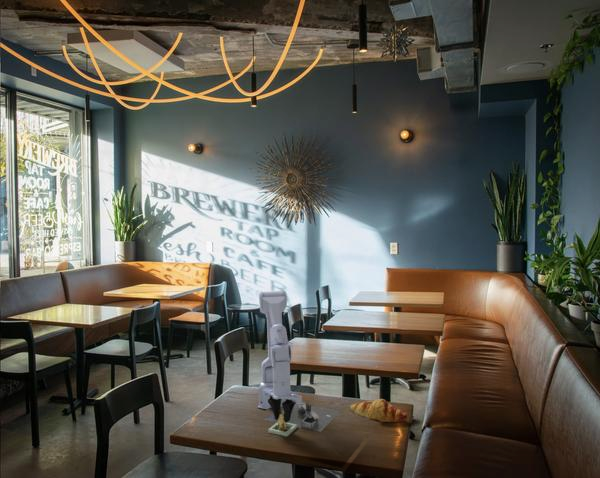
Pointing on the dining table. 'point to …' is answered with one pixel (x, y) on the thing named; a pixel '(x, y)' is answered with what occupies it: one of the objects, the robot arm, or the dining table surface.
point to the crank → (307, 409)
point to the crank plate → (309, 418)
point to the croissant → (379, 411)
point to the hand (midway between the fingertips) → (282, 419)
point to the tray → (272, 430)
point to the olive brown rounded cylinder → (281, 422)
